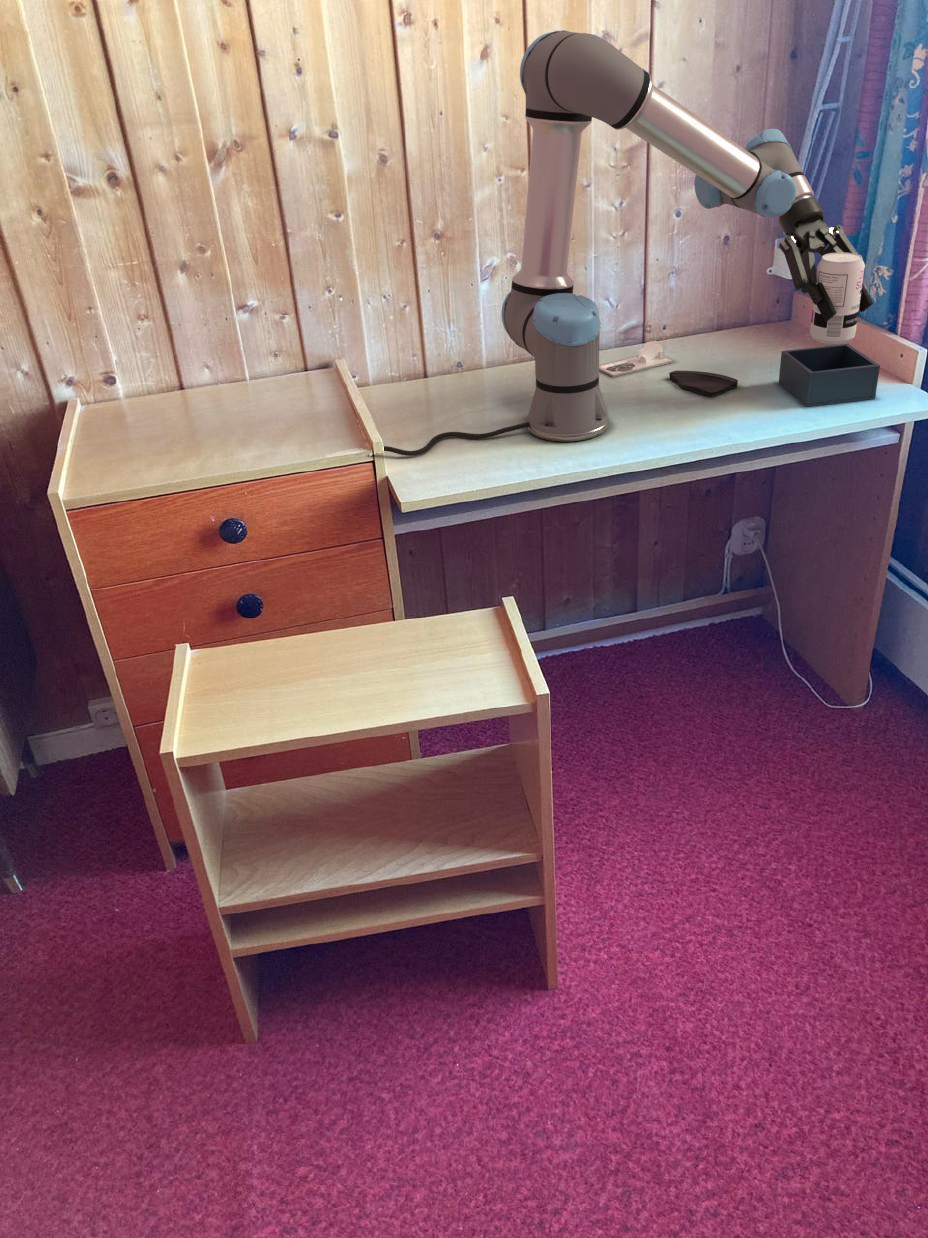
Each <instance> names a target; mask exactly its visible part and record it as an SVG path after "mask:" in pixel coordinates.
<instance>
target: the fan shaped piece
mask: <svg viewBox="0 0 928 1238" xmlns="http://www.w3.org/2000/svg"><path fill="white" fill-rule="evenodd" d="M668 374H669V380H671V381H672V382H674V383H676V384H677V385H678V386H679V387H680V388H681V389H683V390H686V391H690V392H694V393H696V394H697V393H698V394H701V395H705V396H708V397H711V398H712V397H715V396H718V395H720V394H723V393H725V392H727V391H729V390H733V389H736V388H738V383H739V379H737V378H735V377H731V376H728V375H724V374H720V373H715V372H708V371H699V370H673V371H669V372H668Z"/></svg>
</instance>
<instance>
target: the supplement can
mask: <svg viewBox="0 0 928 1238" xmlns="http://www.w3.org/2000/svg"><path fill="white" fill-rule="evenodd" d="M858 254H859V253H858ZM858 254H854V253H846V252H837V253H829V254H825V255H823V256H822V255H821V260H820V261H819V262H818V264H817V267H816V277H817V283H816V285H817V284H818V283H820V282H822V284H823V286H824V288H825V290H826V292H827V294H828V296H829V298H830V300H831V302H832V304H833V306H834V308H835V310H836V312H837V313H836V314H835V315H834V316H833V317H832V318H831V319H830V320H828V321H826V322H825V321H824V319H823V317H822V315H821V313H820V311H819V309H818V307H817V305H815V304H814V303H813V302H812V310H811V319H810V327H809V335H810V337H811V338H812V340H813V341H815V342H817V343H820V344H827V345H840V344H847V343H849V342H850V341H852V339H854V338H856V337H855V336H856V334H857V326H858V319H859V313H860V312H859V311H860V309H859V305H860V298H861V291H862V283H863V281H864V275H865V269H866V268H865V265H864V263H865V261H864V260H863V256H862V255H861V254H859V255H858Z"/></svg>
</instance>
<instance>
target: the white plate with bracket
mask: <svg viewBox="0 0 928 1238" xmlns="http://www.w3.org/2000/svg"><path fill="white" fill-rule="evenodd" d="M663 349H664V347H663V344H661V343H658V342H657V340H650V341H646V342H645V343H644V346H643V347H641V348H640V349H639V351H638V354H637V356H634V357H630V358H625V359H622V360H617V361H614V362H609V363H605V364H601V365H599V372H602V373H604V374H607V375H608V376H610V377H612V378H615V377H619V376H625V375H628V374H632V373H636V372H639V371H644V370H648V369H652V368H656V367H659V366H663V365H668V364H673V360H672V359H670V358H668V357H666V356H665V354H664V351H663Z"/></svg>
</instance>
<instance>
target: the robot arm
mask: <svg viewBox="0 0 928 1238" xmlns="http://www.w3.org/2000/svg"><path fill="white" fill-rule="evenodd" d="M519 81H520V85H521V87H522V90H523V92H524V94H525V96H526V100H525V101H526V102H525V115H524V116H525V117H524V119H525V120H526V121H527V122H528V125H530V127H531V129H532V136H531V146H530V147H531V148H530V158H529V159H530V160H529V170H528V171H529V172H528V183H527V193H526V195H527V196H526V207H525V218H524V230H523V231H524V232H523V243H522V254H521V264H520V265H521V267H520V270H519V271H517V272H516V273H515V274H514V275H513V276H512V278H511V288H510V292H509V293H508V294H506V295H505V298H504V300H503V303H502V305H501V323H502V327H503V329H504V331H505V332H506V333H507V335H508V337H509V338H510V339H511V341H513V343H514V344H515V345H517V346H518V347H520V348H521V349H523V350H524V351H526V352H527V353H528V354H529V355H531V356H532V357H533V358H534V365H535V366H534V367H535V368H534V369H535V389H534V390H535V391H534V394H533V396H532V399H531V403H530V407H529V410H528V414H527V421H526V422H522V423H518V424H515V425H510V426H505V427H502V428H499V429H496V430H492V431H488V432H482V433H470V432H462V431H446V432H442V433H439V434H436V435H435V436H434V437H432V438H431V439H430V441H429V442H428V443H427V444H426V445H425V446H423V447H422V448H419V449H415V450H407V449H401V448H397V447H394V446H387V445H383V446H384V451H383V452H388V453H393V454H397V455H401V456H405V457H414V456H418V455H423V454H424V453H426V452H428V451H429V450H430V449H431V448H432V447H433V446H434V445H435V443H436V442H438V441H439V440H443V439H445V438H453V437H454V438H457V437H458V438H464V439H472V440H473V439H474V440H477V439H478V440H479V439H481V440H482V439H488V438H492V437H496V436H499V435H502V434H506V433H509V432H513V431H517V430H522V429H525V428H527V430H528V433H530V434H532V435H533V436H534V437H537V438H539V439H542V440H546V441H550V442H551V441H552V442H560V443H561V442H563V443H564V442H565V443H567V442H579V441H585V440H589V439H593V438H595V437H598V436H600V435H602V434H604V433H605V432H606V431H607V430H608V429H609V424H610V418H609V412H608V409H607V406H606V403H605V400H604V396H603V394H602V391H601V388H600V370H599V366H600V335H601V334H600V331H601V320H600V311H599V308H598V305H597V304H596V302H594V301H593V300H592V299H591V298H589V297H587V296H586V295H585V296H584V295H581V294H580V295H579V294H578V295H576V294H575V293H574V286H575V285H574V284H575V283H574V281H573V279H572V278H571V277H570V275H569V273H568V264H569V257H570V256H569V254H570V246H571V237H572V226H573V217H574V208H575V198H576V190H577V189H576V188H577V181H578V180H577V179H578V171H579V161H580V154H581V153H580V152H581V142H582V134H583V132H584V131H585V129H587V128H588V127H589V126H590V125H591V124H592V122H593V120H592V119H596V120H599V121H601V122H602V123H604V124H607V125H608V126H610V127H611V128H613V129H614V130H617V131H620V130H623V129H626V130H628V131H629V132H631V134H634V135H636V136H637V137H638V138H640V139H641V140H643V141H645V142H646V143H648V144H649V145H651V146H652V147H654V148H655V149H656V150H659V151H660V152H662V153H663V154H665V156H668V157H669V158H671V159H672V160H673V161H675V162H676V163H678V164H680V165H681V166H683V167H684V168H685V169H687V170H689V171H690V172H692V173H693V174H695V175H694V176H695V177H694V183H693V185H694V194H695V197H696V199H697V201H698V202H699V204H700V206H701V207H703V208H704V209H707V210H708V209H709V210H711V209H714V208H720V207H721V206H723V205H729V206H733V207H736V208H739V209H742V210H746V211H748V212H751V213H753V214H756V215H759V216H760V217H763V218H772V219H773V218H774V219H775V218H778V223H779V224H780V227H781V228H782V231H783V234H784V235H785V237H784V238H783V239H782V240H781V242H780V243H779V244H778V248H779V249H780V250H781V252H782V253H783V255H784V257H785V261H786V263H787V268H788V271H789V273H790V274H789V275H790V276H791V280H792V283H793V286H794V288H795V290H798V291H799V290H801V293H803V294H807V293H808V295H809V297H810V299H811V301H812V304H813V303H814V304H815V305H817V307H818V309H819V311H820V313H821V315H822V317H823V319H824V321H825V322H826V321H828V320H830V319H831V318H832V317H833V316H834V315H835V314H836V313H837V312H836V310H835V308H834V306H833V304H832V302H831V300H830V298H829V296H828V294H827V292H826V290H825V288H824V286H823V284H822V282H820V283H818V284H817V285H816V283H817V277H816V274H817V267H816V257H815V254H816V253H817V254H819V255H820V256H821V257H822V256H823V255H825V254H829V253H837V252H846V253H854V254H858V255H860V254H859V253H858V252H857V250H856V248H855V247H854V245H852V243H851V241H850V239H849V238H848V237H847V236H846V234H845V231H844V228H843V226H842V225H841V224H836V226H834V227H829V225H828V224H826V222H825V221H824V211H823V209H822V207H821V205H820V202H819V201H818V199H817V197H815V192H814V190H813V189H812V186H811V184H810V183H809V181H808V178H806V177H807V176H805V174H804V172H803V169H802V168H801V165H800V164H799V161H798V159H797V158H796V155H795V152H793V148H792V146H791V145H790V143H789V141H788V140H787V138H786V137H785V134H783V132H782V131H781V130H780V129H777V128H769V129H765V130H763V131H761V132H760V133H759V134H756V135H754V137H752V138H751V139H750V140H749V141H748V142H747V143H746V145H745V148H744V147H742V146H741V145H739V144H738V143H736V142H735V141H734V140H732V139H731V138H729V137H728V136H727V135H725V134H724V133H722V132H721V131H720V130H719V129H717V128H715V127H714V126H713V125H711V124H709V122H707V121H706V120H704V119H702V118H701V117H700V116H698V115H697V114H695V113H694V112H692V111H691V110H690V109H689V108H687V107H685V106H684V105H683V104H681V103H680V102H679V101H678V100H675V98H673V97H671V96H670V95H668V94H667V93H665V92H664V91H663V90H661V89H660V88H658V87H657V86H656V85H654V84H653V81H652V75H651V74H650V73H649V72H648V71H647V70H645V69H644V68H643V67H641V66H640V65H639V64H637V63H636V62H635V61H633V60H632V59H630V58H629V57H628V56H627V55H626V54H625V53H624V52H622V51H620V50H619V48H617V47H615V46H614V45H613V44H611V43H610V42H609V41H607V40H606V39H604V38H602V37H600V36H598V35H596V34H592V33H587V32H575V31H569V30H554V31H551V32H546V33H543V34H541V35H539V36H538V37H537V38H535V39H534V40H533V41H532V42H531V44H529V46H528V47H527V48H526V50H525V52H524V54H523V56H522V59H521V63H520V66H519ZM864 265H865V269H866V268H867V265H866V263H865V262H864ZM867 289H868V288H867V285H866V282H865V281H864V280H863V283H862V291H861V298H860V305H859V311H860V313H863V312H865V311H867V309H869V308H870V307H871V306H872V305H873V304H874V302H873V301H872V298H871V296H870V295H869V294H870V293H869V292H868V291H867Z"/></svg>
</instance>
